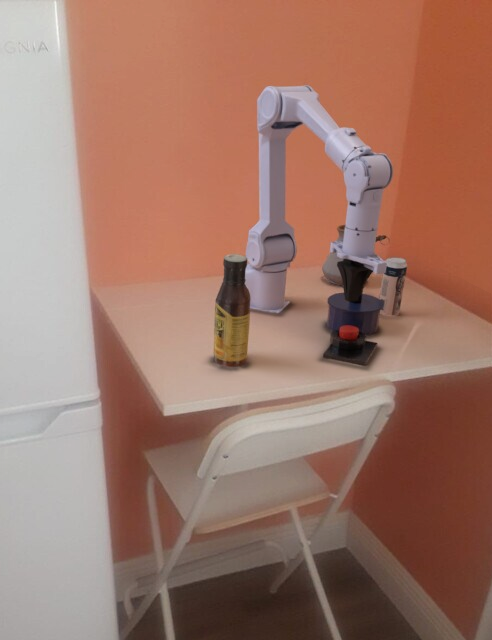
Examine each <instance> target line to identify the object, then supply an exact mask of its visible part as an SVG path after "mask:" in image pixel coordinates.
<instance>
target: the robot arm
mask: <svg viewBox="0 0 492 640" xmlns="http://www.w3.org/2000/svg"><path fill="white" fill-rule="evenodd" d="M256 110H257V111H256V113H257V115H256V119H257V120H256V122H257V128H256V129H257V132H258V189H259V190H258V197H259V198H258V199H259V203H258V206H259V209H258V211H259V220H258V221H257V222H256V224H255V225H253V226H252V227H251V228H250V229H249V230H248V233H247V235H248V238H247V243H246V247H245V257H246V258H247V267H246V271H245V279H246V281H245V285H246V287H247V289H248V290H249V293H250V297H251V298H250V309H252V310H253V309H254V310H259V311H264V312H271V313H277V314H280V313H281V312H282V311H283V310H284V309H285V308H286V307H287V306H288V305H289V304H290V303H291V301H289V300H285V296H286V284H287V271H288V268H291V263H292V262H294V260H295V259H296V256H297V253H298V245H297V241H296V237H295V228H294V227H293V226H292V225H291V224H290V223H289V222H288V221H287V220H286V165H287V164H286V153H287V151H286V147H287V146H286V145H287V141H286V140H287V138H288V137H289V136H290V135H291V134H292V133H293V131H295V130H296V129H298V128H299V127H301V126H302V125H304V126H305V127H307V129H308V130H310V132H312V133H313V134H314V135H315V136H316V137H318V138H319V139H320V140H321V141H322V142H323V143H324V144H325V145H324V153H325V154H326V156H327V157H328V158H329V159H330V160H331V161H332V162H333V164H335V166H336V167H337V168H338V169H339V170H340V171H341V172H342V173H343V181H344V185H345V187H346V193H345V197H346V201H347V208H346V216H345V223H344V225H345V230H344V239H343V242H341V241H337V240H334V241H330V244H329V245H330V246H329V253H330V252H331V253H337V257H339V258H342V259H343V261H339V262H337V267H338V269H339V271H340V274H341V277H342V281H343V286H342V287H343V293H344V296H345V300H346V301H348V302H352V301H358V298H359V296H360V293H361V291H362V289H363V290H364V287H365V284H366V282H367V281H368V279H369V278H370V277H371V275H372V274H375V275H383V273H386V267H387V262H385V261H386V260H383V258H381V257H380V256H379V255H378V254H377V253H376V252H375V249H376V243H377V242H376V237H377V236H378V235H377V233H378V229H379V223H380V222H379V220H380V214H381V207H382V200H383V193H384V189H386V188H388V187H389V186H390V184H391V182H392V180H393V176H394V168H393V167H394V165H393V163H392V161H391V159H390V157H388V155H387V154H386V153H382V152H381V153H380V152H379V153H376V152H375V151H373V150H372V148H371V146H369V145H367V144H366V143H365V142H364V141H363V140H362V139H361V138H360V137H359V136H358V135H357V131H356V130H355V128H353V127H348V126H347V127H346V126H345V127H339V125H338V124H337V123H336V121H335V120H334V119H333V117H332V116H331V115H330V114H329V113H328V111H327V109H325V108H324V106H323V105H322V104H321V103H320V94H319V93H318V92H317V91H315V90H314V89H313V87H312V86H311V85H308V84H303V85H293V86H292V85H291V86H288V85H287V86H274V85H269V86H268V85H267V86H266V87H265V88H264V89H263V90H262V91H261V93H260V95H259V96H258V98H257V99H256ZM363 286H364V287H363Z"/></svg>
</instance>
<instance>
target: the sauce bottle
mask: <svg viewBox="0 0 492 640" xmlns="http://www.w3.org/2000/svg"><path fill="white" fill-rule="evenodd" d="M222 264H223V267H224V268H223V278H222V282H221V286H220V288H219V290H218V293H217V295H216V297H215V303H214V304H215V305H214V327H213V331H214V332H213V361H214V362H215V363H216V364H218V365H219V366H223V367H229V368H231V367H239V366H243V365H244V364H245V363H246V361H247V357H248V349H249V337H250V336H249V335H250V321H251V308H250V298H251V297H250V293H249V290H248V289H247V287H246V285H245V281H246V279H245V271H246V267H247V264H248V260H247V257H246V255H243V254H239V253H231V254H226V255H225V256H224V257H223V262H222Z"/></svg>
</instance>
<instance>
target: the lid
mask: <svg viewBox="0 0 492 640" xmlns="http://www.w3.org/2000/svg"><path fill="white" fill-rule="evenodd" d="M364 287H365V285H364V286H363V289H362V291H361V293H360V296H359V298H358V301H352V302H348V301H346V300H345V296H344V292H338V293H333V294H331V295H330V296H328V297H327V301H326V302H327V304H328V306H329V305H330V306H331V307H332V308H334V309H337V310H339V311H343V312H348V313H355V314H368V313H374V312H378V311H380V310H381V309H382V308H383V302H382V301H381V300H380V299H379V298H378V297H377V296H374V295H371V294H368V293H364Z"/></svg>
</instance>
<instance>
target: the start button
mask: <svg viewBox="0 0 492 640" xmlns="http://www.w3.org/2000/svg"><path fill="white" fill-rule="evenodd" d="M358 333H359V329H358V328H357V327H355V326H351V325H344V326H341V327H340V332H339V337H341V338H343V339H349V340H352V339H358Z"/></svg>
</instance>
